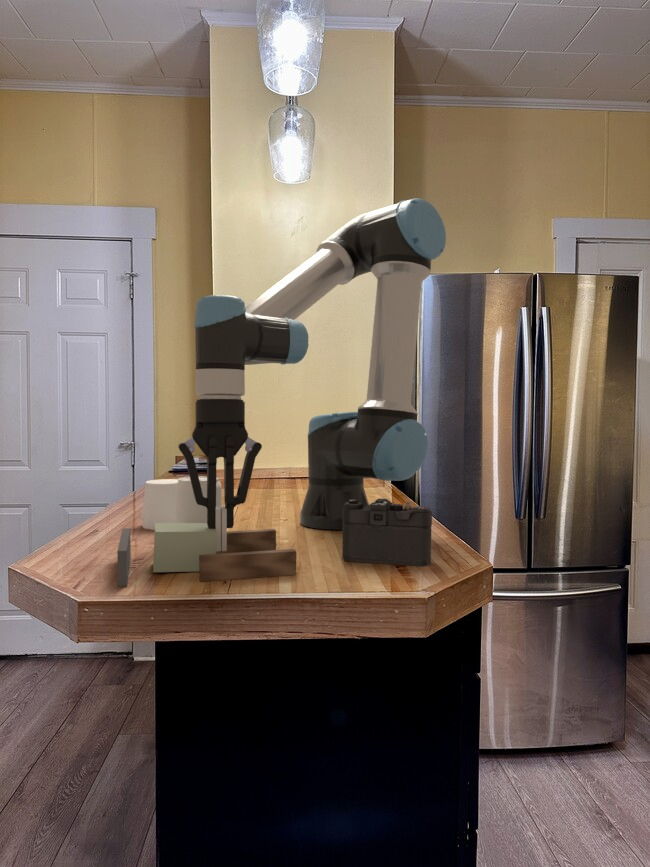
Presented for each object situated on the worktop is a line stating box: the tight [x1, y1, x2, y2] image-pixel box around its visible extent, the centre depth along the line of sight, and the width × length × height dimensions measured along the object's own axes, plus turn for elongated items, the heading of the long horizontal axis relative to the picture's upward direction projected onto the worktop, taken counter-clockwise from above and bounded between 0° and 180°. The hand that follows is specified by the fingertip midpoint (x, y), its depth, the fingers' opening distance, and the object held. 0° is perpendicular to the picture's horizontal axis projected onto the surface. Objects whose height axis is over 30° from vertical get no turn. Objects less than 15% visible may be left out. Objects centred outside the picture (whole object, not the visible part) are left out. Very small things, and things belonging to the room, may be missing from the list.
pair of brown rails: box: [198, 528, 297, 583], centre depth 99 cm, size 14×17×4 cm
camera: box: [341, 497, 433, 567], centre depth 103 cm, size 14×11×10 cm
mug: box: [140, 478, 179, 531], centre depth 128 cm, size 12×9×8 cm
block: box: [152, 523, 217, 573], centre depth 97 cm, size 9×7×6 cm
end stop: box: [116, 527, 132, 588], centre depth 94 cm, size 1×16×5 cm, turn 15°
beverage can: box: [175, 475, 223, 523], centre depth 111 cm, size 8×8×12 cm
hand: (220, 549), depth 97 cm, fingers closed
